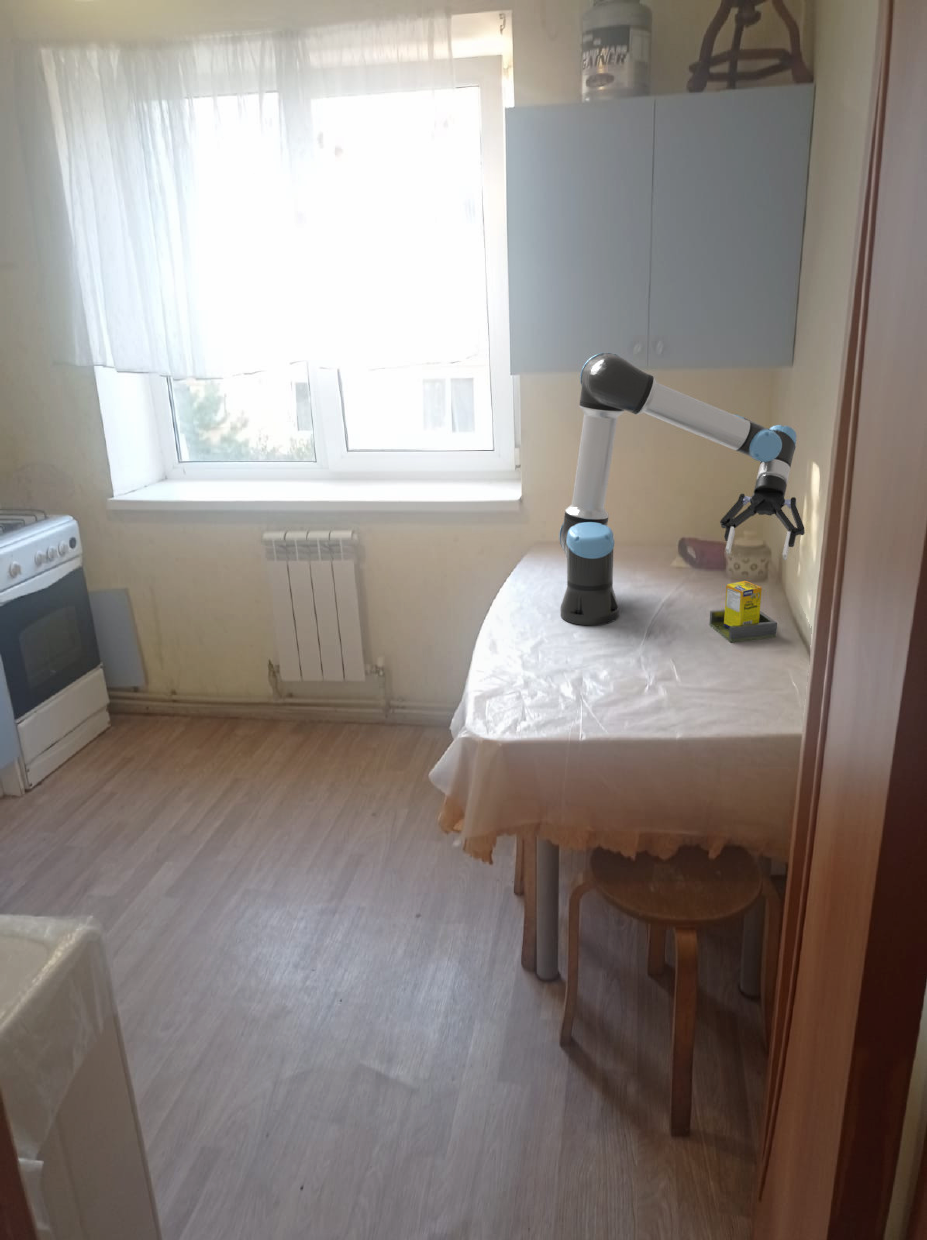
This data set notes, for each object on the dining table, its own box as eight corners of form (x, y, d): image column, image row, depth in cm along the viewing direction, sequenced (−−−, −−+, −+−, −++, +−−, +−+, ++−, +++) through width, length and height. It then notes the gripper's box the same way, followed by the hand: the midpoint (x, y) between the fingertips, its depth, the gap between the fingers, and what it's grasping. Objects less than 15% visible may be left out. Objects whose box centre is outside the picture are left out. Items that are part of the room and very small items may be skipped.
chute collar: (709, 625, 219) (710, 611, 218) (752, 620, 221) (753, 606, 220) (730, 642, 209) (731, 627, 207) (775, 637, 210) (777, 622, 209)
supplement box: (759, 629, 213) (762, 586, 209) (739, 634, 211) (742, 591, 207) (742, 621, 219) (745, 580, 215) (723, 626, 216) (726, 584, 212)
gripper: (824, 493, 222) (809, 567, 215) (723, 486, 233) (706, 556, 226) (823, 476, 216) (808, 552, 209) (720, 470, 227) (702, 542, 220)
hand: (755, 554), depth 217 cm, fingers open, 13 cm apart
